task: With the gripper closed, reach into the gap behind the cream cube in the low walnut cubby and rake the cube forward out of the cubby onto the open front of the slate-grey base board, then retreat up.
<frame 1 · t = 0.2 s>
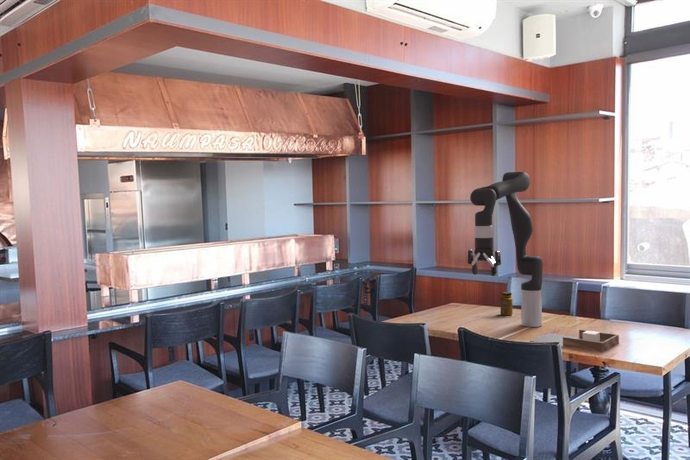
hand: (484, 275, 246), 29 cm above the table, fingers open, 8 cm apart
condiment: (505, 316, 305), on the table
slate board: (574, 344, 243), on the table
cream cube: (591, 344, 238), point 1 cm above the table, touching slate board
walnut cubby: (590, 340, 238), on the slate board, point 3 cm above the table
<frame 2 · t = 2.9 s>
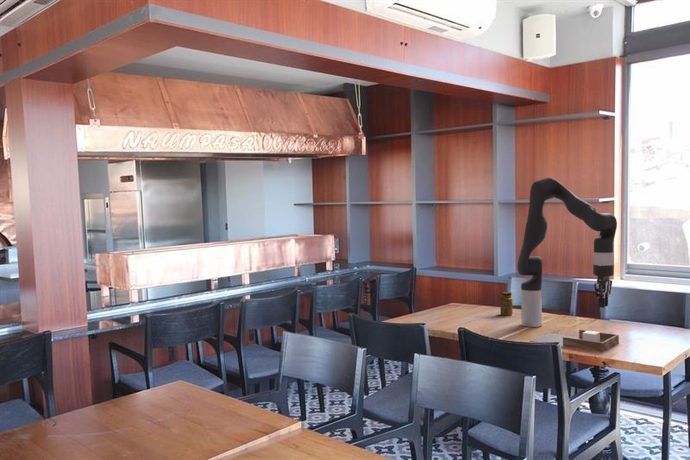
hand: (603, 306, 234), 17 cm above the table, fingers open, 3 cm apart
nothing on the table moved.
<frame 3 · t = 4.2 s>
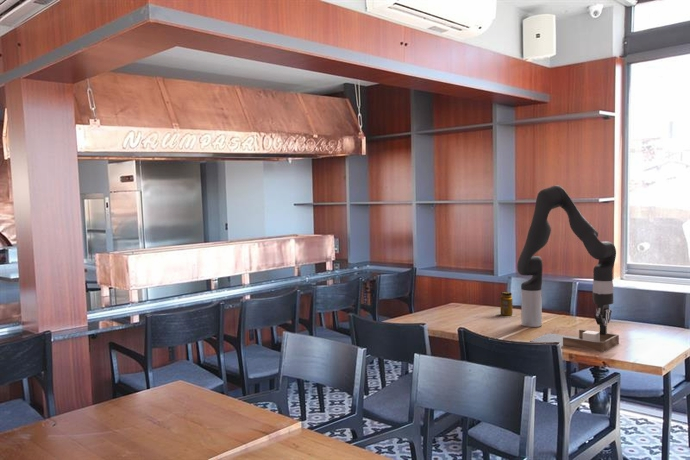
hand: (603, 334, 234), 6 cm above the table, fingers closed
nothing on the table moved.
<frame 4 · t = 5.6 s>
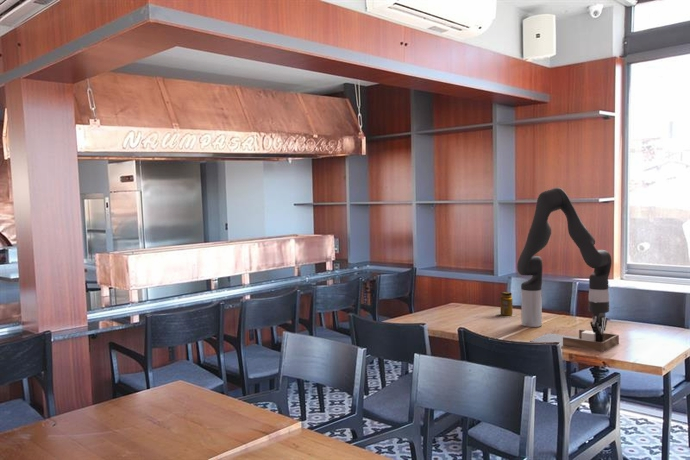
hand: (599, 342, 236), 2 cm above the table, fingers closed
cream cube: (590, 344, 238), point 1 cm above the table, touching gripper
everything else where it was.
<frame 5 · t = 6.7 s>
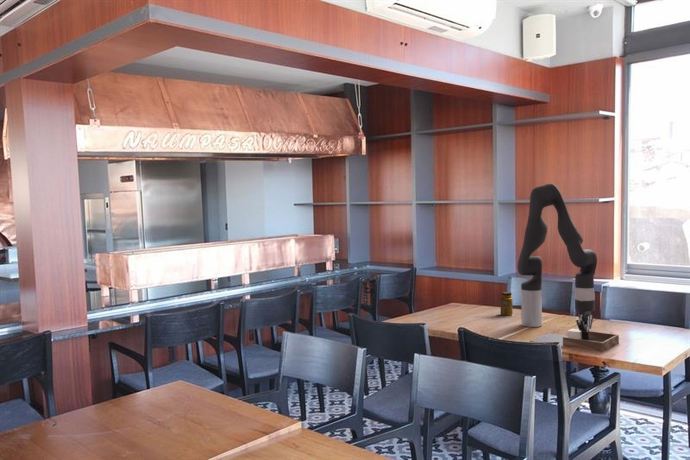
hand: (585, 340, 240), 2 cm above the table, fingers closed
cream cube: (576, 342, 242), point 1 cm above the table
everything else where it was.
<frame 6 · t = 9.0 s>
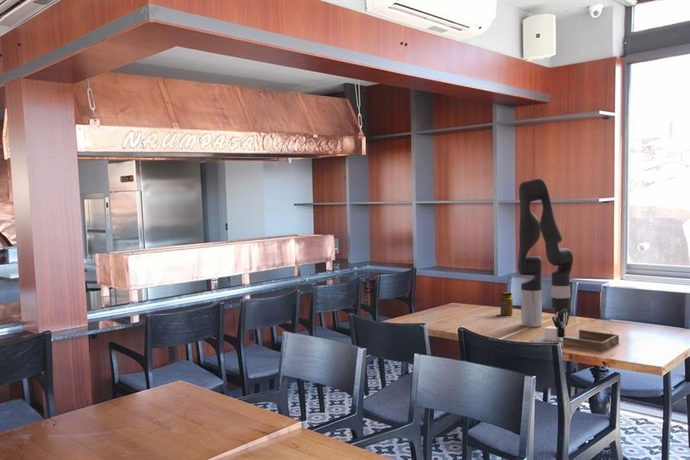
hand: (561, 337, 246), 2 cm above the table, fingers closed
cream cube: (552, 339, 248), point 1 cm above the table, touching gripper, slate board
everything else where it was.
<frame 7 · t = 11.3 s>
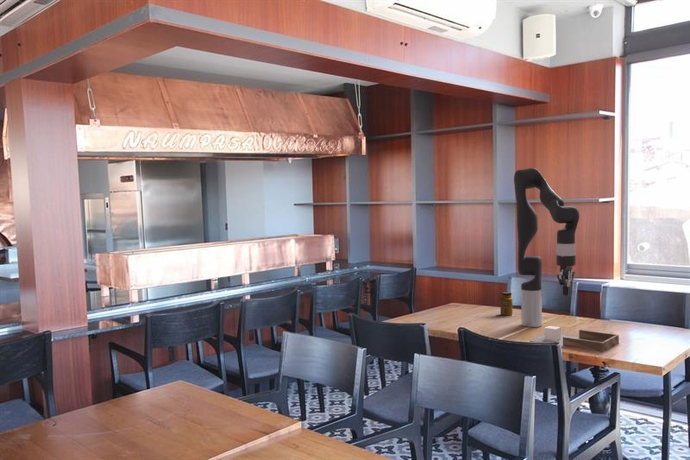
hand: (566, 295, 246), 20 cm above the table, fingers closed
cream cube: (552, 339, 248), point 1 cm above the table, touching slate board
everything else where it was.
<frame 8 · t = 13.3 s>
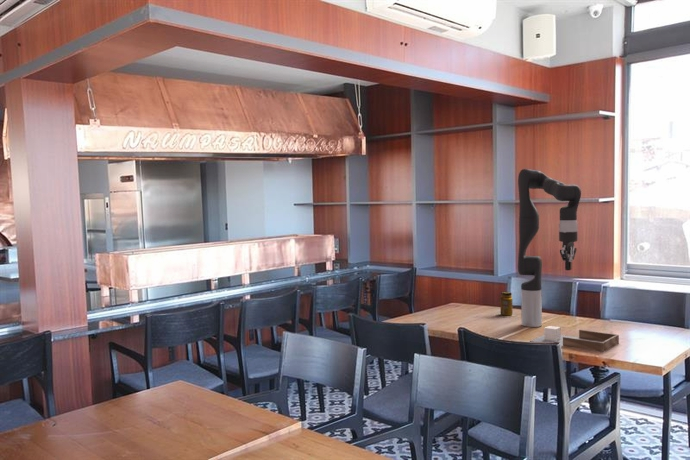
hand: (568, 270, 257), 29 cm above the table, fingers closed
nothing on the table moved.
at the end: cream cube inside the target area (0.9 cm from its centre), point 1.0 cm above the table; cream cube tilted 0°; cream cube moved 15.9 cm from its start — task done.
